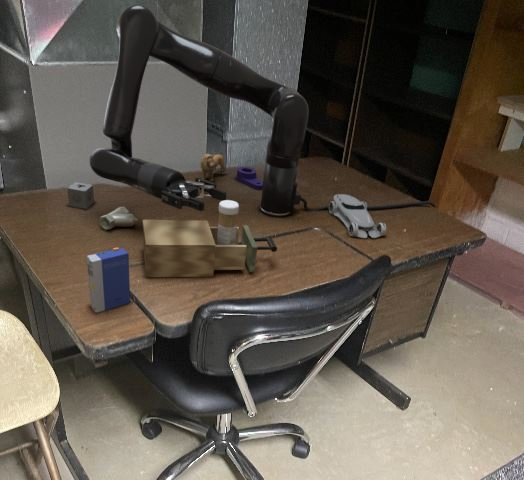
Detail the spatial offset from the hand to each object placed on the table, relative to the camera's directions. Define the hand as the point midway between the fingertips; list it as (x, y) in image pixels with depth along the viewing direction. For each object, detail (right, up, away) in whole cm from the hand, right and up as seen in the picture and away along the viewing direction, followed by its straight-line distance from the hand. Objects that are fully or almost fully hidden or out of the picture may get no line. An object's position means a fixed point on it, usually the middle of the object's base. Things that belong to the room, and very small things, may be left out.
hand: (214, 201), depth 130 cm
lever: (+7, +20, +53) cm, 57 cm away
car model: (+38, +4, +37) cm, 53 cm away
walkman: (-21, -25, -13) cm, 35 cm away
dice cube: (-39, +6, +25) cm, 47 cm away
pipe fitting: (-26, -2, +17) cm, 31 cm away
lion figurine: (-5, +21, +52) cm, 57 cm away
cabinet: (-9, -14, +4) cm, 17 cm away
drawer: (+4, -12, +7) cm, 15 cm away
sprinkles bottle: (+2, -12, +6) cm, 13 cm away
